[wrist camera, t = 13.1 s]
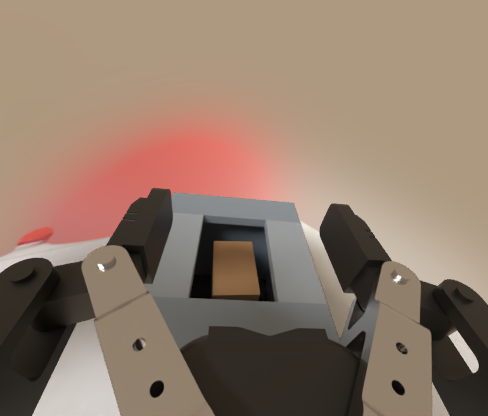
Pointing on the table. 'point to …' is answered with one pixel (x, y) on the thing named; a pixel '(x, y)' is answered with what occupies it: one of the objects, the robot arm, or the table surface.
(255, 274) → the wooden block
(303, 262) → the grey box with opening
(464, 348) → the table surface
